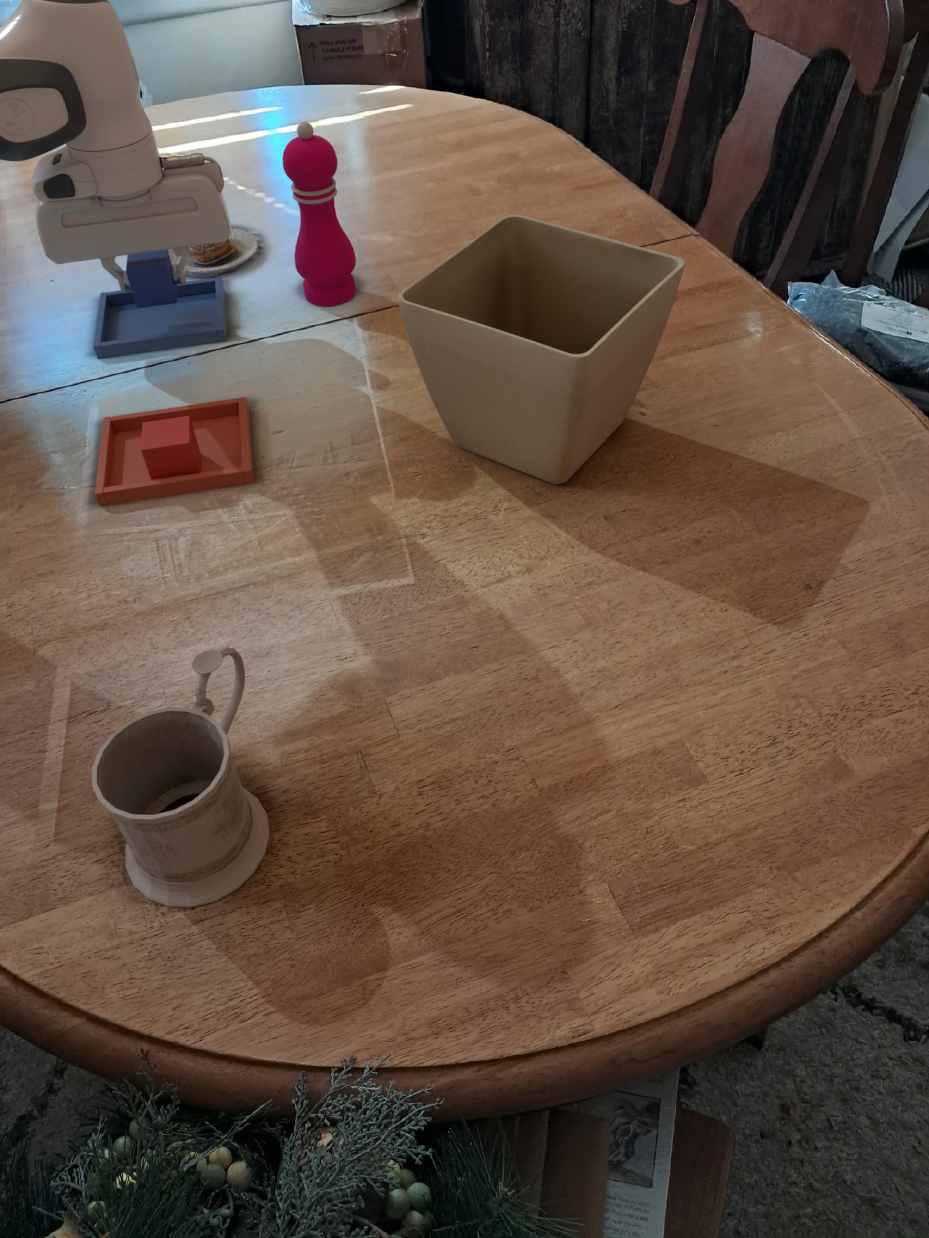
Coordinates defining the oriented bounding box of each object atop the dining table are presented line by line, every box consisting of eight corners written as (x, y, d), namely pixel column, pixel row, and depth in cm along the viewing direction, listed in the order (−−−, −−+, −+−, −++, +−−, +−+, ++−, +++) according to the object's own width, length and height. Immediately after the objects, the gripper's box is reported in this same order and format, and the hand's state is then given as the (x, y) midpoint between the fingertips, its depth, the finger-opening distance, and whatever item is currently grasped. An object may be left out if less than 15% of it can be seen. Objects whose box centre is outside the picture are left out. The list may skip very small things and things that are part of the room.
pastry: (150, 258, 129) (140, 224, 126) (228, 227, 135) (220, 193, 131) (197, 289, 123) (188, 254, 120) (277, 256, 128) (270, 221, 125)
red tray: (101, 510, 94) (94, 493, 93) (109, 433, 103) (102, 417, 101) (254, 486, 96) (250, 470, 94) (249, 412, 104) (245, 396, 103)
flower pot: (670, 414, 100) (690, 256, 88) (576, 520, 90) (584, 357, 78) (511, 363, 108) (509, 211, 96) (408, 454, 98) (391, 297, 86)
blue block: (137, 308, 113) (125, 271, 110) (138, 289, 116) (127, 253, 113) (177, 303, 113) (166, 266, 110) (177, 284, 116) (167, 247, 113)
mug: (222, 927, 64) (174, 828, 55) (97, 879, 67) (33, 778, 58) (323, 755, 73) (296, 647, 65) (210, 719, 76) (169, 611, 67)
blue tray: (98, 362, 112) (92, 347, 111) (105, 308, 121) (100, 292, 120) (227, 344, 114) (223, 329, 112) (225, 291, 122) (221, 276, 121)
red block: (153, 487, 95) (140, 450, 92) (155, 460, 98) (142, 422, 95) (200, 480, 96) (189, 442, 92) (200, 453, 99) (189, 415, 96)
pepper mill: (292, 290, 122) (260, 119, 107) (346, 274, 124) (322, 104, 109) (313, 315, 117) (283, 140, 103) (369, 299, 119) (347, 125, 105)
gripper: (216, 139, 107) (243, 261, 117) (22, 163, 105) (67, 285, 115) (217, 162, 102) (245, 286, 113) (15, 188, 101) (62, 312, 111)
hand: (154, 286), depth 114 cm, fingers closed on blue block, 4 cm apart
